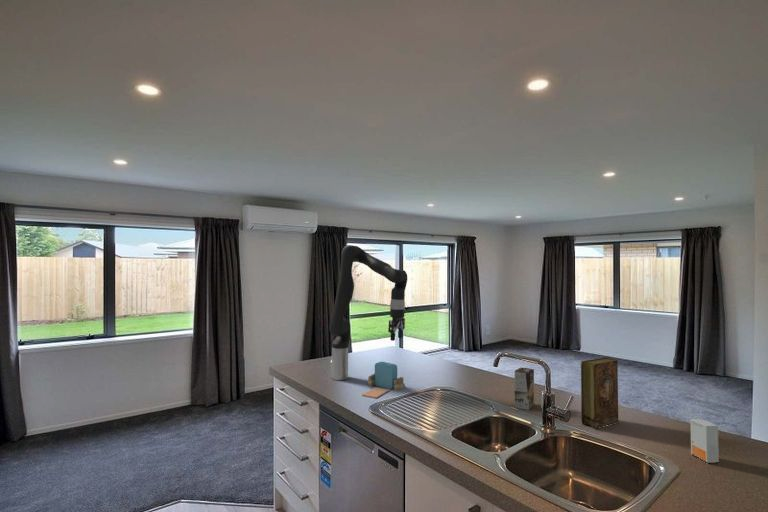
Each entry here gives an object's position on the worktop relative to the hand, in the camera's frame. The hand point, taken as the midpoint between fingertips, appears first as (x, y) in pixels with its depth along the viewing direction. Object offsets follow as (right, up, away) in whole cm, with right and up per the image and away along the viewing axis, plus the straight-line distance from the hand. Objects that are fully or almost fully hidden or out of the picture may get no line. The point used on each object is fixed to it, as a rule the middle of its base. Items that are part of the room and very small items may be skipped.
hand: (396, 339), depth 198 cm
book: (+80, -24, -46) cm, 96 cm away
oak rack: (-6, -25, +1) cm, 26 cm away
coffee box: (+57, -25, -26) cm, 67 cm away
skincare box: (+98, -23, -74) cm, 125 cm away
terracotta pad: (-10, -25, -10) cm, 28 cm away
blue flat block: (-6, -25, +1) cm, 26 cm away
